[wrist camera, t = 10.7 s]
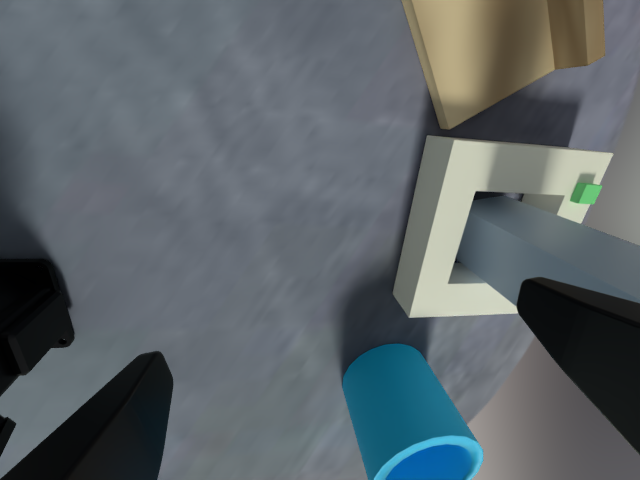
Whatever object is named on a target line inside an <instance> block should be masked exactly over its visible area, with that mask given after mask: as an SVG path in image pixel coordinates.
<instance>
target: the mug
mask: <svg viewBox="0 0 640 480" xmlns="http://www.w3.org/2000/svg"><path fill="white" fill-rule="evenodd" d="M342 388H343V391H344V395H345V399H346V402H347V406H348V409H349V413H350V416H351V420H352V423H353V427H354V430H355V434H356V438H357V441H358V445H359V448H360V452H361V455H362V459H363V462H364V466H365V470H366V473H367V477H368V480H471V479H472V478H473V477H474V476H475V475H476V473H477V472H478V471H479V468H480V466H481V464H482V462H483V449H482V448H481V446H480V445H479V443H478V442H477V440H476V438H475V437H474V435H473V434H472V432H471V431H470V429H469V427H468V426H467V424H466V423H465V421H464V420H463V418H462V417H461V415H460V413H459V412H458V410H457V409H456V407H455V406H454V404H453V402H452V401H451V399H450V398H449V396H448V395H447V393H446V392H445V390H444V388H443V387H442V385H441V384H440V382H439V381H438V379H437V377H436V376H435V374H434V373H433V371H432V370H431V368H430V367H429V365H428V363H427V362H426V360H425V359H424V357H423V356H422V354H421V353H420V351H418V350H417V349H415V348H413V347H412V346H409V345H404V344H399V343H398V344H385V345H382V346H379V347H376V348H373V349H370V350H369V351H367V352H365V353H364V354H362V355H360V356H359V357H358V358H357V359H356V360H355V361H354V362H353V363H352V364H351V365H350V366H349V367H348V369H347V371H346V373H345V375H344V377H343V384H342Z"/></svg>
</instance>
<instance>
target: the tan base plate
mask: <svg viewBox="0 0 640 480" xmlns="http://www.w3.org/2000/svg"><path fill="white" fill-rule="evenodd" d="M402 3H403V7H404V10H405V13H406V17H407V20H408V23H409V26H410V30H411V33H412V36H413V40H414V43H415V46H416V49H417V53H418V56H419V59H420V63H421V66H422V69H423V73H424V76H425V79H426V82H427V86H428V89H429V92H430V96H431V99H432V102H433V105H434V109H435V112H436V115H437V119H438V122H439V125H440V128H441V129H448V130H450V129H451V128H453V127H455V126H457V125H458V124H460V123H462V122H464V121H465V120H467V119H469V118H471V117H472V116H474V115H476V114H478V113H479V112H481V111H483V110H485V109H486V108H488V107H490V106H492V105H494V104H495V103H497V102H499V101H501V100H502V99H504V98H506V97H508V96H509V95H511V94H513V93H515V92H516V91H518V90H520V89H522V88H523V87H525V86H527V85H529V84H530V83H532V82H534V81H536V80H537V79H539V78H541V77H543V76H544V75H546V74H548V73H550V72H552V71H553V70H556V69H564V68H571V67H579V66H587V65H589V64H591V63H593V62H595V61H597V60H598V59H600V58H602V57H604V56H605V38H604V13H603V0H402Z"/></svg>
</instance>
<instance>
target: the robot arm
mask: <svg viewBox="0 0 640 480" xmlns="http://www.w3.org/2000/svg"><path fill="white" fill-rule="evenodd" d="M38 266H41V267H42V268H43V269H44V270H42V269H40V268H39V267H38ZM516 307H517V311H518V313H519V315H520V316H521V318H522V319H523V320H524V321H525V323H526V324H527V325H528V327H529V328H530V329H531V331H532V332H533V333H534V334H535V336H536V337H537V338H538V340H539V341H540V342H541V344H542V345H543V346H544V347H545V349H546V350H547V351H548V353H549V354H550V355H551V357H552V358H553V359H554V360H555V362H556V363H557V364H558V365H559V367H560V368H561V369H562V370H563V371H564V372H565V373H566V374H567V376H568V377H569V378H570V379H571V380H572V381H573V382H574V383H575V385H576V386H578V388H579V389H580V390H581V391H582V392H583V393H584V394H585V396H586V397H587V398H588V399H589V400H590V401H591V402H592V403H593V404H594V405H595V406H596V408H597V409H598V410H599V411H600V412H601V413H602V414H603V415H604V416H605V418H606V419H607V420H608V421H609V422H610V423H611V424H612V425H613V426H614V427H615V428H616V430H617V431H618V432H619V433H620V434H621V435H622V436H623V437H624V438H625V440H627V442H628V443H629V444H630V445H631V446H632V447H633V448H634V449H635V450H636V452H637V453H638V454H639V455H640V303H638V302H634V301H630V300H626V299H623V298H619V297H615V296H611V295H608V294H604V293H600V292H597V291H593V290H589V289H585V288H582V287H578V286H574V285H570V284H567V283H563V282H559V281H556V280H552V279H548V278H544V277H534V278H528V279H525V280H523V282H522V283H521V286H520V290H519V295H518V299H517V304H516ZM63 339H65V340H63ZM73 341H74V334H73V331H72V328H71V321H70V317H69V314H68V311H67V307H66V304H65V301H64V298H63V294H62V293H61V292H60V288H59V285H58V282H57V278H56V275H55V272H54V269H53V266H52V264H51V263H50V262H49V261H47V260H45V259H0V396H1V395H2V394H3V393H4V392H5V391H6V390H7V389H8V388H9V386H10V385H11V384H12V383H13V382H14V381H15V380H16V379H17V378H18V377H19V375H26V374H28V373H29V372H30V371H31V370H32V369H33V368H34V366H35V365H36V364H37V363H38V362H39V361H40V360H41V358H42V357H43V356H44V355H45V354H46V353H47V352H48V351H49V349H50V348H64V347H68V346H70V345H71V343H72V342H73ZM172 391H173V377H172V374H171V372H170V370H169V367H168V365H167V363H166V361H165V358H164V356H163V354H162V353H161V352H159V351H154V352H149V353H144V354H141V355H139V356H137V357H136V358H135V359H134V360H133V361H132V362H131V363H129V364H128V365H127V366H126V367H125V368H124V369H123V370H122V371H121V372H119V373H118V374H117V375H116V376H115V377H114V378H113V379H112V380H110V381H109V382H108V383H107V384H106V385H105V386H104V387H103V388H102V389H100V390H99V391H98V392H97V393H96V394H95V395H94V396H93V397H92V398H90V399H89V400H88V401H87V402H86V403H85V404H84V405H83V406H81V407H80V408H79V409H78V410H77V411H76V412H75V413H74V414H73V415H71V416H70V417H69V418H68V419H67V420H66V421H65V422H64V423H62V424H61V425H60V426H59V427H58V428H57V429H56V430H55V431H54V432H52V433H51V434H50V435H49V436H48V437H47V438H46V439H45V440H43V441H42V442H41V443H40V444H39V445H38V446H37V447H36V448H35V449H33V450H32V451H31V452H30V453H29V454H28V455H27V456H26V457H24V458H23V459H22V460H21V461H20V462H19V463H18V464H17V465H16V466H14V467H13V468H12V469H11V470H10V471H9V472H8V473H7V474H5V475H4V476H3V477H2V478H1V479H0V480H157V478H158V474H159V470H160V466H161V461H162V456H163V451H164V445H165V438H166V431H167V425H168V418H169V411H170V405H171V398H172ZM15 426H16V423H15V422H14V421H12V420H11V419H10V418H8V417H6V418H4V417H3V416H1V415H0V456H1V454H2V452H3V450H4V448H5V446H6V444H7V442H8V440H9V438H10V436H11V434H12V432H13V430H14V428H15Z"/></svg>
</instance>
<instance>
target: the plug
mask: <svg viewBox="0 0 640 480" xmlns="http://www.w3.org/2000/svg"><path fill="white" fill-rule="evenodd" d="M456 259H457V260H458V261H459V262H461V263H462V264H463V265H464V266H466V267H467V268H468V269H469V270H471V271H472V272H473V273H475V274H476V275H477V276H478V277H480V278H481V279H482V280H483V281H485V282H486V283H487V284H488V285H490V286H491V287H492V288H493V289H495V290H496V291H497V292H499V293H500V294H501V295H502V296H504V297H505V298H506V299H507V300H509V301H510V302H511V303H512V304H514V305H515V306H516V304H517V299H518V295H519V290H520V286H521V283H522V282H523V280H525V279H528V278H534V277H544V278H548V279H552V280H556V281H559V282H563V283H567V284H570V285H574V286H578V287H582V288H585V289H589V290H593V291H597V292H600V293H604V294H608V295H611V296H615V297H619V298H623V299H626V300H630V301H634V302H638V303H640V246H639V245H636V244H633V243H631V242H628V241H625V240H623V239H620V238H617V237H615V236H612V235H609V234H607V233H604V232H601V231H598V230H596V229H593V228H590V227H588V226H585V225H582V224H580V223H577V222H574V221H571V220H569V219H566V218H563V217H561V216H558V215H555V214H552V213H550V212H547V211H544V210H542V209H539V208H536V207H534V206H531V205H528V204H525V203H523V202H520V201H517V200H515V199H512V198H509V197H506V196H504V195H503V196H497V197H491V198H485V199H479V200H473V201H472V205H471V208H470V211H469V215H468V218H467V221H466V225H465V228H464V231H463V235H462V238H461V241H460V245H459V248H458V251H457V255H456Z"/></svg>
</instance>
